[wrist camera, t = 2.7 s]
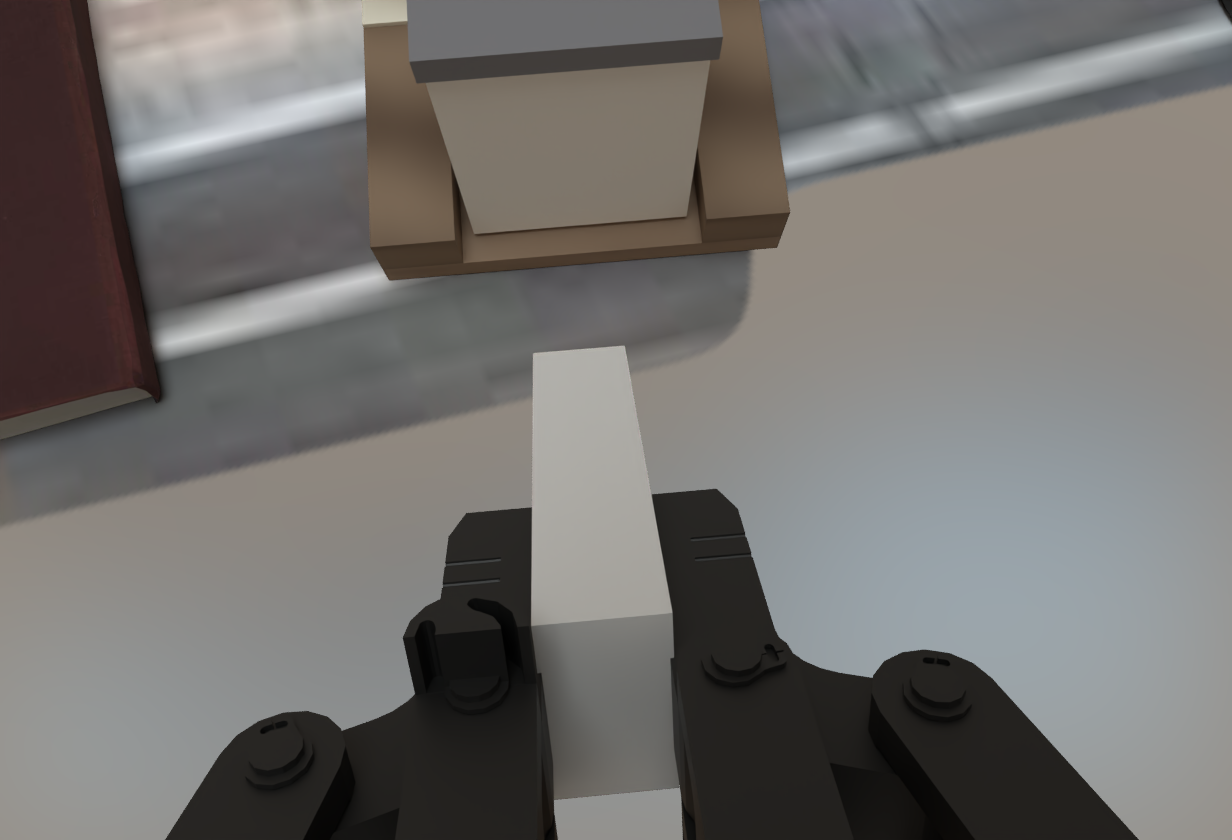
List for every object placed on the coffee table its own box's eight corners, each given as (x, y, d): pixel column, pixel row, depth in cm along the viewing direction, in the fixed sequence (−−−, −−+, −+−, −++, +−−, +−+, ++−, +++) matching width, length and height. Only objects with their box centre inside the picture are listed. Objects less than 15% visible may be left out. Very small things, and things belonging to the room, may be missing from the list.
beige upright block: (692, 220, 37) (723, 36, 26) (469, 239, 37) (409, 62, 26) (674, 71, 39) (696, -159, 28) (460, 88, 38) (400, -137, 28)
